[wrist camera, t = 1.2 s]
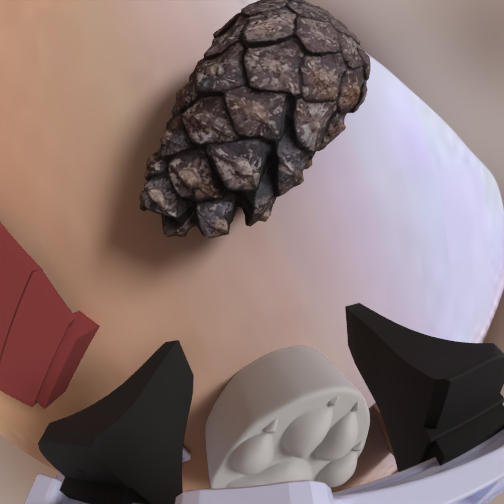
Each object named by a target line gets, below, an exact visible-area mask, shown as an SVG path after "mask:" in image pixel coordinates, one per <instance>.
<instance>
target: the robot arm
mask: <svg viewBox="0 0 504 504" xmlns="http://www.w3.org/2000/svg"><path fill="white" fill-rule="evenodd" d="M345 308H346V320H347V334H348V346H349V349H350V351H351V354H352V357H353V359H354V362H355V364H356V366H357V368H358V370H359V372H360V374H361V375H362V377H363V379H364V381H365V383H366V385H367V386H368V388H369V390H370V392H371V394H372V396H373V398H374V400H375V402H376V404H377V406H378V408H379V411H380V414H381V416H382V419H383V422H384V425H385V428H386V431H387V434H388V437H389V440H390V443H391V446H392V450H393V453H394V457H395V460H396V464H397V468H398V473H395V474H393V475H390V476H387V477H384V478H381V479H378V480H375V481H372V482H369V483H366V484H363V485H359V486H356V487H352V488H349V489H345V490H341V491H337V492H333V493H332V491H331V489H330V488H329V487H328V486H327V485H326V483H323V482H319V481H313V480H297V481H286V482H280V483H273V484H265V485H256V486H246V487H234V488H214V489H196V490H188V491H185V492H183V493H182V462H185V461H188V460H190V459H191V454H190V453H189V452H188V451H187V450H186V449H185V448H184V447H183V441H184V434H185V429H186V424H187V419H188V414H189V410H190V405H191V400H192V394H193V373H192V371H191V368H190V366H189V364H188V362H187V359H186V357H185V355H184V352H183V350H182V347H181V345H180V342H179V340H177V341H170V342H165V343H164V344H163V345H162V346H161V347H160V348H159V349H158V350H157V351H156V352H155V353H154V354H153V355H152V356H151V357H150V358H149V359H148V360H147V361H146V362H145V363H144V364H143V365H142V366H141V367H140V368H139V369H138V370H137V371H136V372H135V373H134V374H133V375H132V376H131V377H130V378H129V379H127V380H126V381H125V382H124V383H123V384H122V385H121V386H119V387H118V388H117V389H115V390H114V391H113V392H111V393H110V394H109V395H107V396H106V397H104V398H103V399H101V400H99V401H98V402H96V403H95V404H93V405H91V406H89V407H88V408H86V409H84V410H82V411H80V412H77V413H75V414H73V415H71V416H68V417H66V418H63V419H60V420H57V421H55V422H51V423H49V425H48V427H47V428H46V430H45V432H44V434H43V436H42V437H41V439H40V441H39V443H38V445H39V449H40V451H41V453H42V454H43V455H44V457H45V458H46V459H47V460H48V461H49V462H50V463H51V464H52V465H53V466H54V467H55V468H56V469H57V470H58V473H57V477H56V478H53V477H49V476H46V475H43V474H38V475H37V477H36V479H35V481H34V483H33V485H32V488H31V490H30V492H29V495H28V496H27V499H26V501H25V503H24V504H486V503H488V502H489V501H491V500H492V499H494V498H495V497H496V496H498V495H499V494H500V493H502V492H503V491H504V406H503V405H502V403H503V402H504V398H503V396H502V395H501V394H500V391H501V389H502V386H503V384H504V353H503V352H502V351H501V350H500V349H499V348H498V347H497V346H496V345H495V344H493V343H490V344H489V343H464V342H455V341H449V340H444V339H440V338H435V337H431V336H428V335H425V334H422V333H419V332H416V331H413V330H410V329H408V328H406V327H403V326H401V325H399V324H397V323H395V322H393V321H391V320H389V319H387V318H385V317H383V316H381V315H379V314H378V313H376V312H374V311H372V310H371V309H369V308H367V307H365V306H364V305H362V304H360V303H358V304H354V305H350V306H346V307H345Z"/></svg>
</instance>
